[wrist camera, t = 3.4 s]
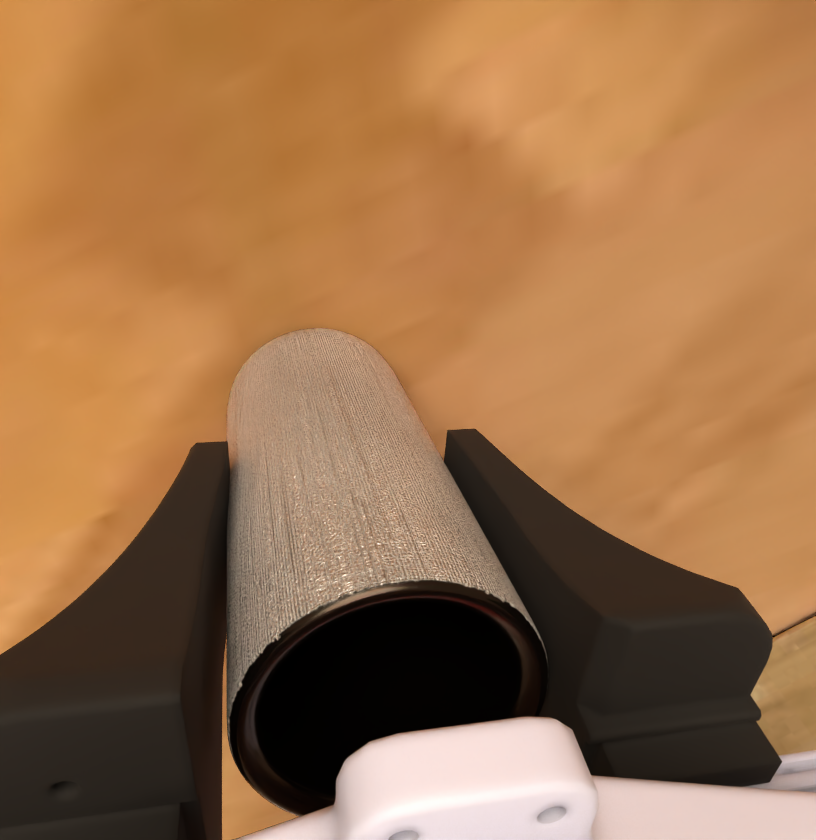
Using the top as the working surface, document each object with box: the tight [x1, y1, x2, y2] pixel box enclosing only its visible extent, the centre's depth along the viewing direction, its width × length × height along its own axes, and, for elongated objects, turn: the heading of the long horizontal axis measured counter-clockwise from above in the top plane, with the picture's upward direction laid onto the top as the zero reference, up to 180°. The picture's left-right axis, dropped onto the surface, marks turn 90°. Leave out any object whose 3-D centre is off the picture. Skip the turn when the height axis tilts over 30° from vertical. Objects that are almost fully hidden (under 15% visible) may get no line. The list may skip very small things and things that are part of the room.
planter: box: [227, 328, 548, 817], centre depth 14 cm, size 4×4×10 cm
